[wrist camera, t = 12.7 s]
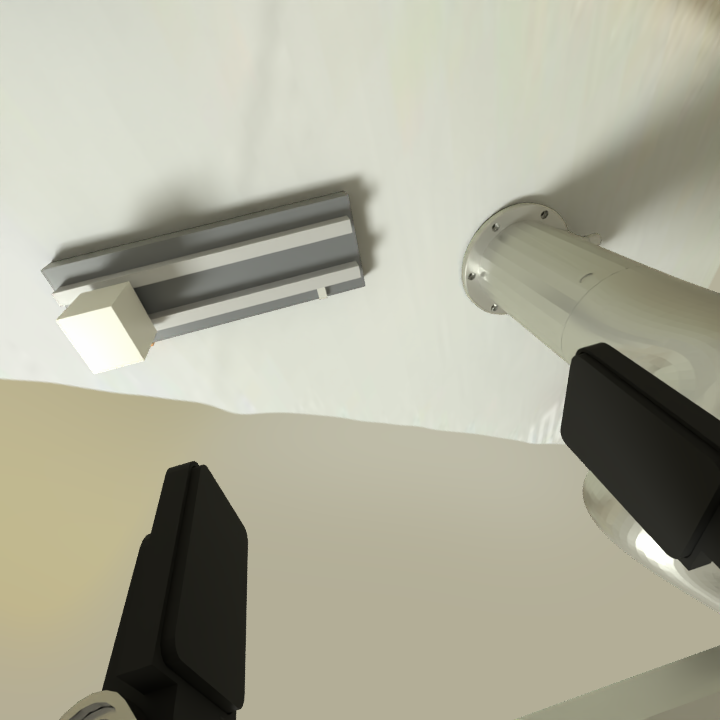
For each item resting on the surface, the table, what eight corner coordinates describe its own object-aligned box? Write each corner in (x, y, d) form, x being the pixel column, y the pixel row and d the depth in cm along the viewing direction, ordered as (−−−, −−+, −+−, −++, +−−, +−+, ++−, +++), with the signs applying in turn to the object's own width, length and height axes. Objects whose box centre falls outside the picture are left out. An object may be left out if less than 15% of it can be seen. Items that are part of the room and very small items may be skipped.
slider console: (344, 191, 37) (351, 198, 34) (361, 282, 42) (369, 295, 39) (50, 262, 35) (32, 276, 32) (108, 349, 40) (96, 368, 37)
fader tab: (135, 272, 35) (111, 306, 29) (161, 321, 38) (144, 360, 32) (88, 284, 34) (55, 320, 29) (119, 332, 37) (94, 374, 31)
